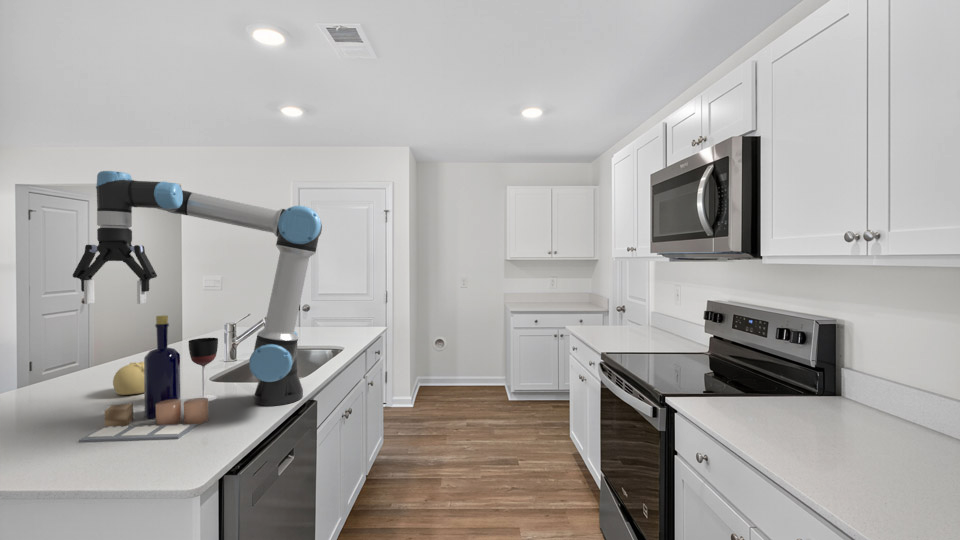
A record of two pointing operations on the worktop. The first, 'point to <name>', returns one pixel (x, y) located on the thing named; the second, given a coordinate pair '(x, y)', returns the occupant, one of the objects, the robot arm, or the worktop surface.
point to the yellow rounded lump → (129, 379)
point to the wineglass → (203, 356)
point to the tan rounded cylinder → (196, 411)
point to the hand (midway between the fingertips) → (115, 303)
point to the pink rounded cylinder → (168, 412)
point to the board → (138, 432)
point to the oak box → (119, 415)
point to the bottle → (161, 371)
